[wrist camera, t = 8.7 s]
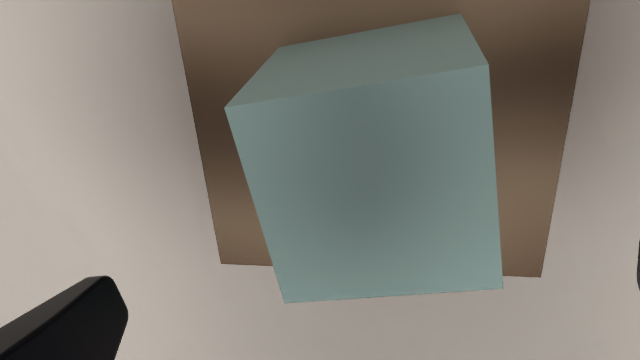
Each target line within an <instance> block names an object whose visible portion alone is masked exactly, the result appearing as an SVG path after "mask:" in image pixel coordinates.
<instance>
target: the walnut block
mask: <svg viewBox="0 0 640 360" xmlns="http://www.w3.org/2000/svg"><path fill="white" fill-rule="evenodd" d="M172 5H173V10H174V15H175V21H176V26H177V31H178V37H179V42H180V47H181V53H182V58H183V63H184V69H185V74H186V79H187V85H188V90H189V95H190V101H191V106H192V111H193V117H194V122H195V127H196V133H197V138H198V144H199V149H200V154H201V160H202V165H203V170H204V176H205V181H206V186H207V192H208V197H209V202H210V208H211V213H212V218H213V224H214V229H215V234H216V240H217V245H218V250H219V256H220V261H221V264H237V265H260V266H273V264H272V261H271V257H270V254H269V251H268V248H267V244H266V241H265V238H264V235H263V231H262V228H261V225H260V222H259V219H258V215H257V212H256V209H255V206H254V202H253V199H252V196H251V193H250V189H249V186H248V183H247V180H246V177H245V173H244V170H243V167H242V164H241V160H240V157H239V154H238V151H237V147H236V144H235V141H234V138H233V135H232V131H231V128H230V125H229V122H228V118H227V115H226V112H225V109H224V107H225V106H226V105H227V104H228V103H229V102H230V101H231V100H232V98H233V97H234V96H235V95H236V94H237V93H238V92H239V91H240V90H241V89H242V87H243V86H244V85H245V84H246V83H247V82H248V81H249V80H250V79H251V78H252V76H253V75H254V74H255V73H256V72H257V71H258V70H259V69H260V68H261V67H262V65H263V64H264V63H265V62H266V61H267V60H268V59H269V58H270V57H271V55H272V54H273V53H274V52H275V51H276V50H277V49H278V48H279V47H283V46H288V45H294V44H299V43H304V42H310V41H315V40H321V39H326V38H331V37H337V36H342V35H347V34H353V33H358V32H363V31H369V30H374V29H379V28H385V27H390V26H395V25H401V24H406V23H411V22H417V21H422V20H427V19H433V18H438V17H443V16H449V15H454V14H459V13H461V14H462V16H463V18H464V20H465V22H466V24H467V25H468V27H469V29H470V31H471V33H472V35H473V36H474V38H475V40H476V42H477V44H478V46H479V47H480V49H481V51H482V53H483V55H484V57H485V58H486V60H487V62H488V64H489V75H490V91H491V106H492V122H493V137H494V152H495V168H496V183H497V199H498V214H499V229H500V245H501V260H502V276H521V277H541V273H542V268H543V262H544V256H545V251H546V245H547V240H548V234H549V228H550V223H551V217H552V212H553V206H554V201H555V195H556V189H557V184H558V178H559V173H560V167H561V162H562V156H563V150H564V145H565V139H566V134H567V128H568V122H569V117H570V111H571V106H572V100H573V95H574V89H575V83H576V78H577V72H578V67H579V61H580V55H581V50H582V44H583V39H584V33H585V28H586V22H587V16H588V11H589V5H590V0H172Z"/></svg>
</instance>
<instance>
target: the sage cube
mask: <svg viewBox="0 0 640 360" xmlns="http://www.w3.org/2000/svg"><path fill="white" fill-rule="evenodd" d="M224 109H225V112H226V115H227V118H228V122H229V125H230V128H231V131H232V135H233V138H234V141H235V144H236V147H237V151H238V154H239V157H240V160H241V164H242V167H243V170H244V173H245V177H246V180H247V183H248V186H249V189H250V193H251V196H252V199H253V202H254V206H255V209H256V212H257V215H258V219H259V222H260V225H261V228H262V231H263V235H264V238H265V241H266V244H267V248H268V251H269V254H270V257H271V261H272V264H273V267H274V270H275V273H276V277H277V280H278V283H279V286H280V290H281V293H282V296H283V299H284V303H296V302H311V301H326V300H341V299H356V298H371V297H386V296H401V295H415V294H430V293H445V292H460V291H475V290H490V289H503V276H502V260H501V245H500V229H499V214H498V199H497V183H496V168H495V152H494V137H493V122H492V106H491V91H490V75H489V64H488V62H487V60H486V58H485V57H484V55H483V53H482V51H481V49H480V47H479V46H478V44H477V42H476V40H475V38H474V36H473V35H472V33H471V31H470V29H469V27H468V25H467V24H466V22H465V20H464V18H463V16H462V14H461V13H459V14H454V15H449V16H443V17H438V18H433V19H427V20H422V21H417V22H411V23H406V24H401V25H395V26H390V27H385V28H379V29H374V30H369V31H363V32H358V33H353V34H347V35H342V36H337V37H331V38H326V39H321V40H315V41H310V42H304V43H299V44H294V45H288V46H283V47H279V48H278V49H277V50H276V51H275V52H274V53H273V54H272V55H271V57H270V58H269V59H268V60H267V61H266V62H265V63H264V64H263V65H262V67H261V68H260V69H259V70H258V71H257V72H256V73H255V74H254V75H253V76H252V78H251V79H250V80H249V81H248V82H247V83H246V84H245V85H244V86H243V87H242V89H241V90H240V91H239V92H238V93H237V94H236V95H235V96H234V97H233V98H232V100H231V101H230V102H229V103H228V104H227V105H226V106H225V107H224Z"/></svg>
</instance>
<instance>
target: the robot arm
mask: <svg viewBox="0 0 640 360" xmlns="http://www.w3.org/2000/svg"><path fill="white" fill-rule="evenodd" d="M637 282H638V286H639V290H640V242H639V253H638V265H637ZM127 321H128V310H127V307H126V305H125V303H124V301H123V299H122V297H121V294H120V292H119V290H118V288H117V286H116V284H115V282H114V281H113V279H112V278H110V277H109V276H94V277H88V278H85V279H83V280H82V281H80V282H78V283H77V284H75V285H73V286H71V287H70V288H68V289H66V290H65V291H63V292H61V293H59V294H58V295H56V296H54V297H53V298H51V299H49V300H47V301H46V302H44V303H42V304H41V305H39V306H37V307H35V308H34V309H32V310H30V311H29V312H27V313H25V314H23V315H22V316H20V317H18V318H17V319H15V320H13V321H11V322H10V323H8V324H6V325H5V326H3V327H1V328H0V360H114V359H115V356H116V354H117V351H118V348H119V345H120V342H121V339H122V336H123V333H124V330H125V328H126V325H127Z"/></svg>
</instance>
